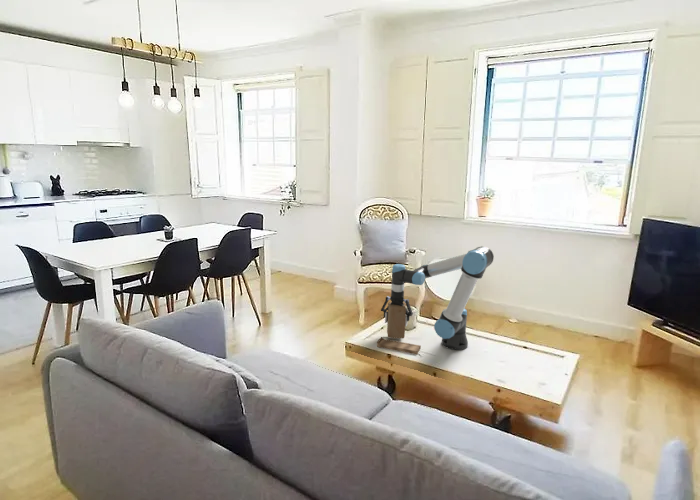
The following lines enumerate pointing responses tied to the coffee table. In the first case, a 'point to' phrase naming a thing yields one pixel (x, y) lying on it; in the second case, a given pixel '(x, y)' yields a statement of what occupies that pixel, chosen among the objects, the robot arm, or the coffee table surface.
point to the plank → (398, 346)
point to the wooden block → (396, 321)
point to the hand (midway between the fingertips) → (396, 324)
